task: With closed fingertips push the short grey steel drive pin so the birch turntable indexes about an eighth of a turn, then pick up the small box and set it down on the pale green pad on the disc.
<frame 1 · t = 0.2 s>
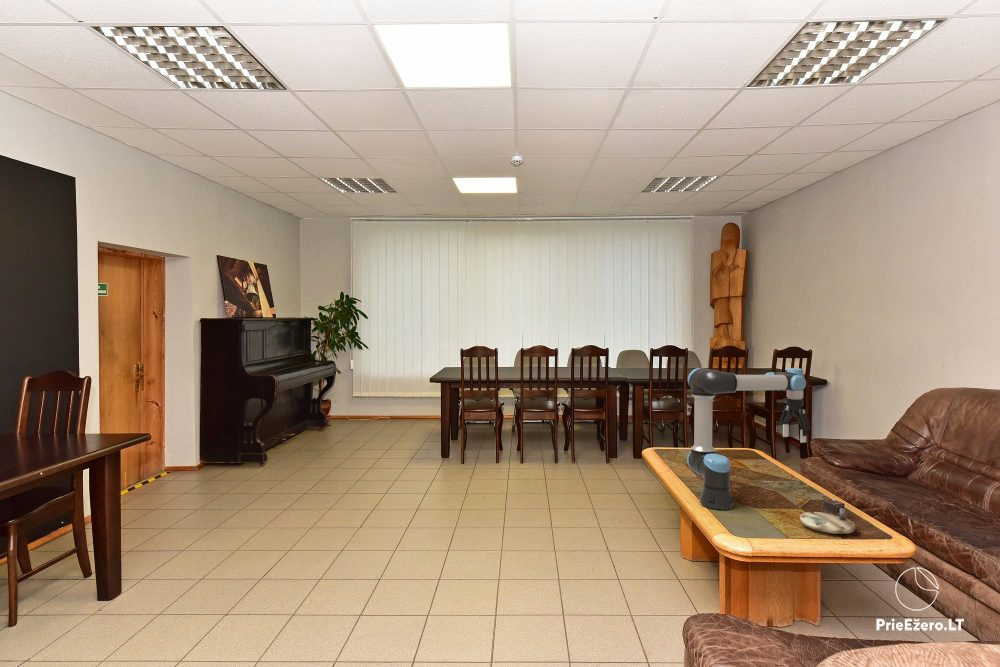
hand: (794, 439, 279), 28 cm above the table, fingers open, 13 cm apart
turntable: (826, 517, 232), point 5 cm above the table, hinge at 0.0°
box: (833, 518, 244), on the table
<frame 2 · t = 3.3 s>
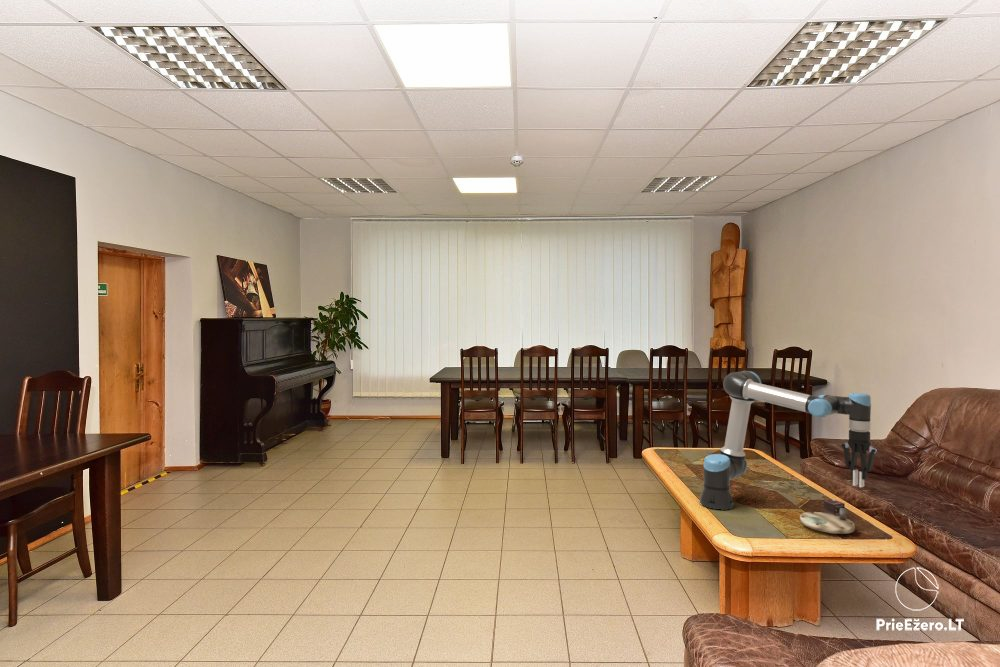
hand: (858, 486, 227), 19 cm above the table, fingers closed
nothing on the table moved.
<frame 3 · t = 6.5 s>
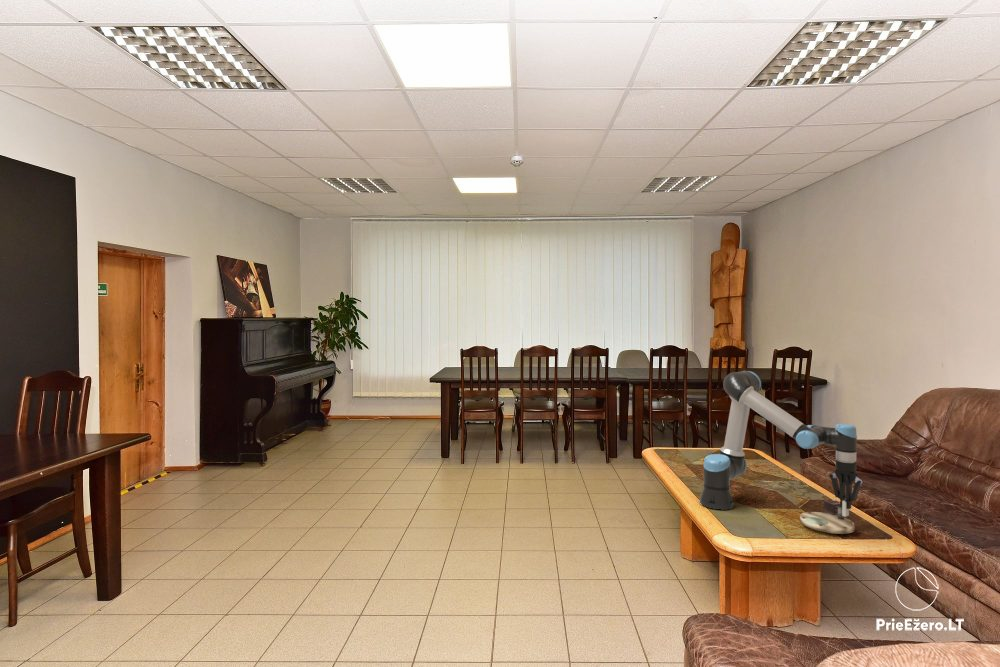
hand: (845, 515, 232), 5 cm above the table, fingers closed
turntable: (826, 517, 232), point 5 cm above the table, hinge at 7.9°, touching gripper
everything else where it was.
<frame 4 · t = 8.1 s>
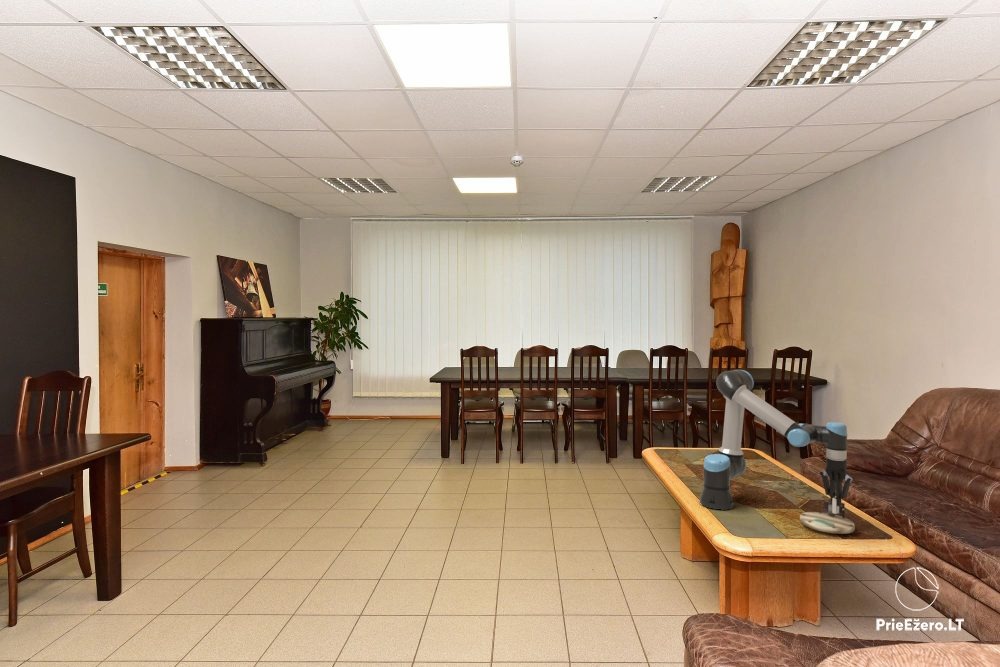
hand: (835, 512, 235), 5 cm above the table, fingers closed
turntable: (826, 517, 232), point 5 cm above the table, hinge at 38.6°, touching gripper
everything else where it was.
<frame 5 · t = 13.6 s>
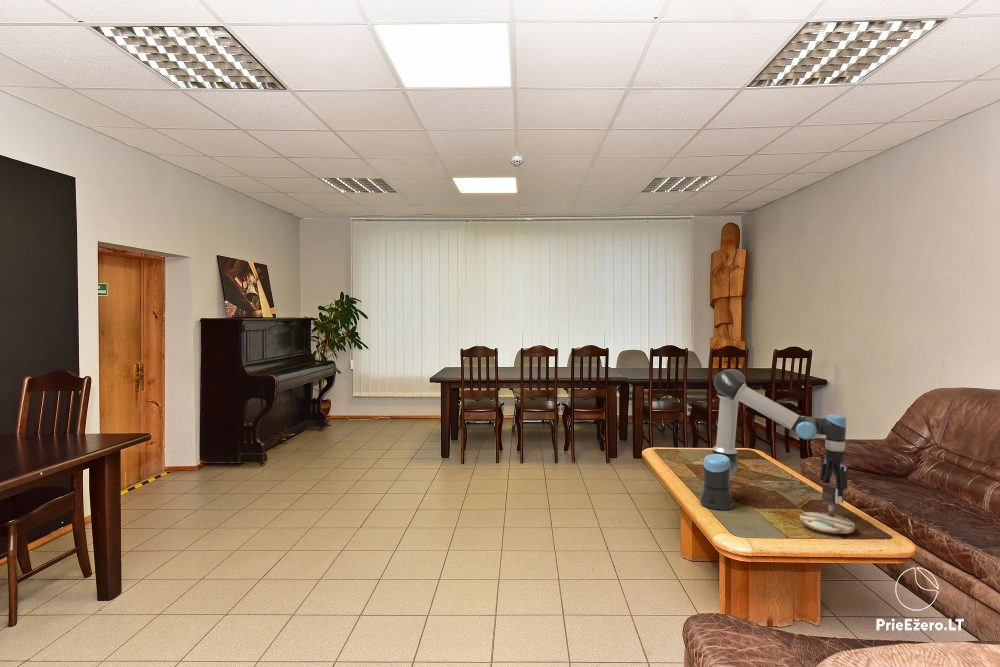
hand: (832, 500, 244), 8 cm above the table, fingers closed on box, 7 cm apart
turntable: (826, 517, 232), point 5 cm above the table, hinge at 38.6°
box: (832, 501, 244), point 7 cm above the table, touching gripper
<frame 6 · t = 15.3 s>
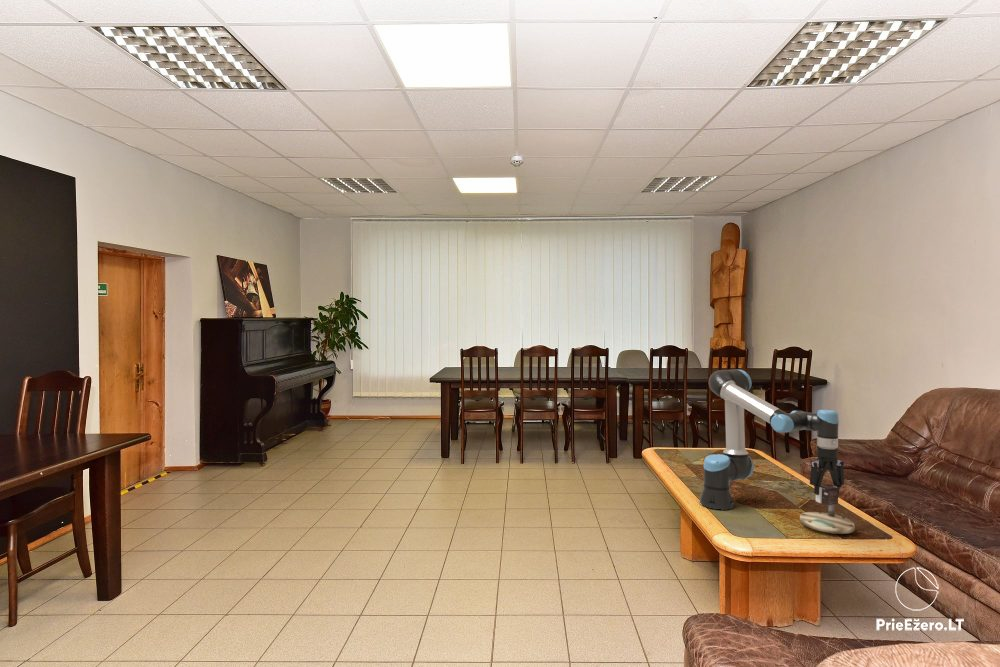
hand: (826, 501, 227), 13 cm above the table, fingers closed on box, 7 cm apart
box: (826, 503, 227), point 12 cm above the table, touching gripper
everything else where it was.
when the fingers open (4 cm above the table, at t = 17.2 s): box stays where it is, resting on turntable.
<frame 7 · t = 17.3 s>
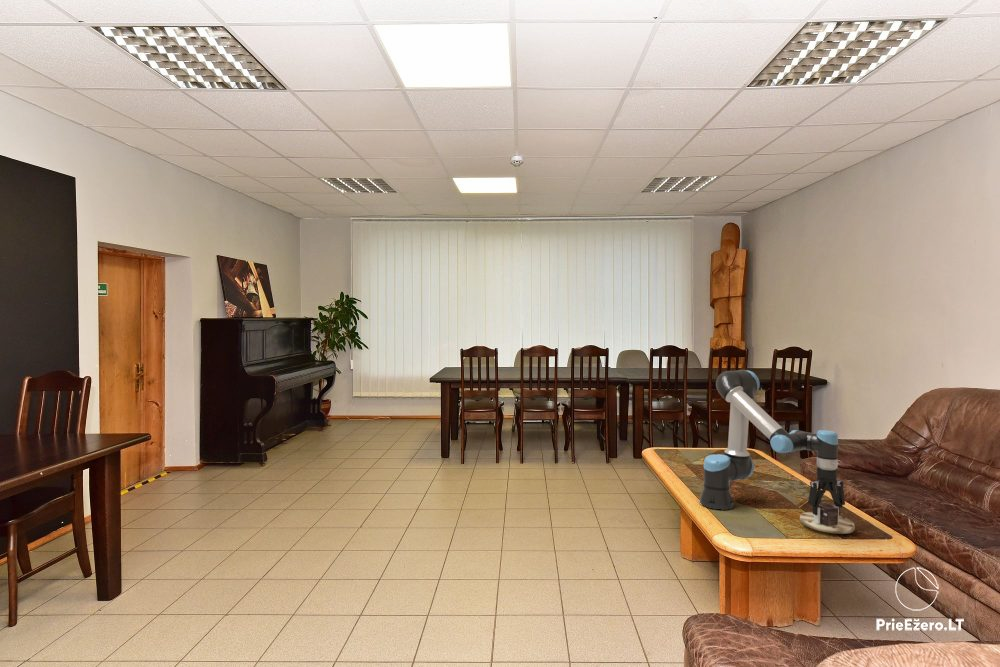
hand: (826, 521, 228), 4 cm above the table, fingers open, 8 cm apart
turntable: (826, 517, 232), point 5 cm above the table, hinge at 38.6°, touching box
box: (826, 523, 228), point 3 cm above the table, touching turntable
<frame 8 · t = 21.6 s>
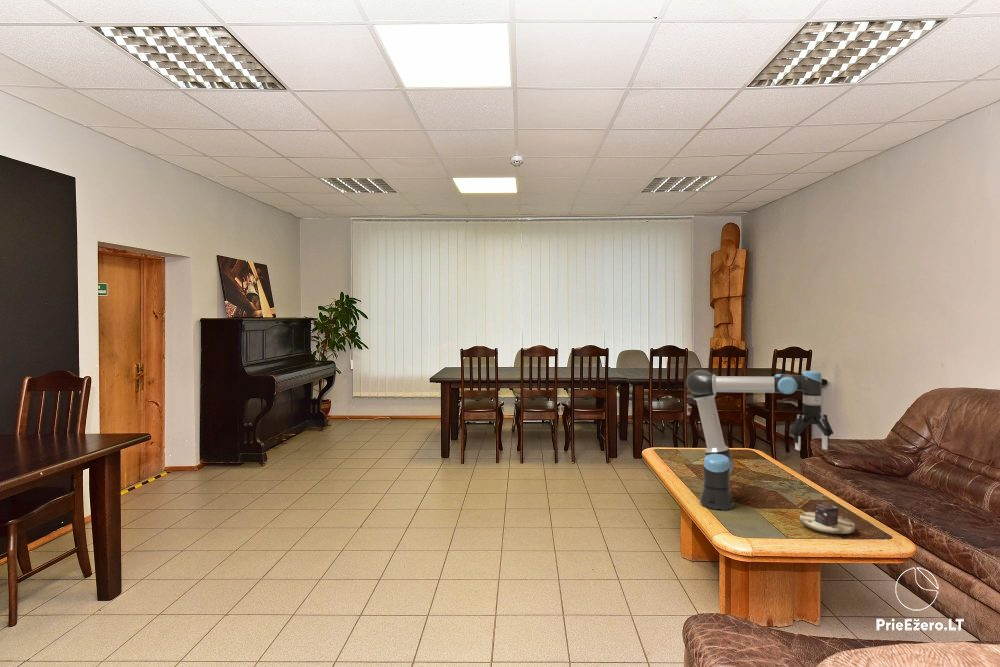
hand: (811, 449, 253), 29 cm above the table, fingers open, 13 cm apart
nothing on the table moved.
at the end: turntable at +39° (first picture: +0°); box inside the target area (0.0 cm from its centre), point 3.5 cm above the table; box tilted 0° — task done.
